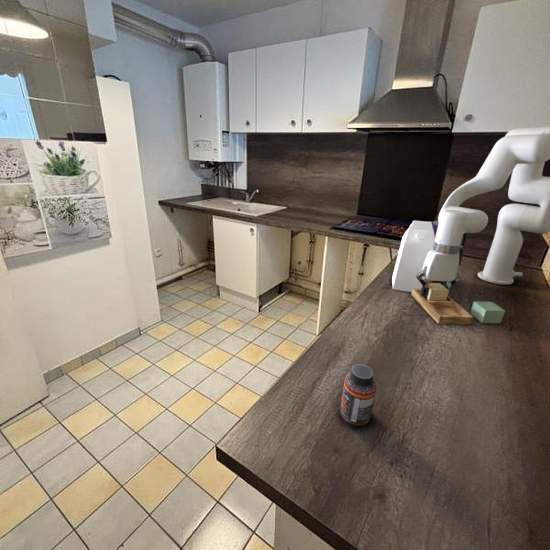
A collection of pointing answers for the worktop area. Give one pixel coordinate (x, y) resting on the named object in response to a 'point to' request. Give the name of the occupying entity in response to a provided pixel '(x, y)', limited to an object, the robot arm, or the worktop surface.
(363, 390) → the supplement bottle
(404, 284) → the milk
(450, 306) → the divided wooden tray
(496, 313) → the green block
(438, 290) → the tan block
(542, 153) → the robot arm
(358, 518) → the worktop surface
